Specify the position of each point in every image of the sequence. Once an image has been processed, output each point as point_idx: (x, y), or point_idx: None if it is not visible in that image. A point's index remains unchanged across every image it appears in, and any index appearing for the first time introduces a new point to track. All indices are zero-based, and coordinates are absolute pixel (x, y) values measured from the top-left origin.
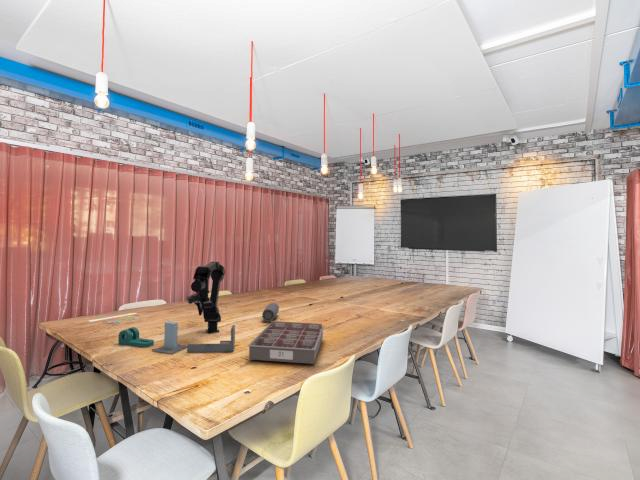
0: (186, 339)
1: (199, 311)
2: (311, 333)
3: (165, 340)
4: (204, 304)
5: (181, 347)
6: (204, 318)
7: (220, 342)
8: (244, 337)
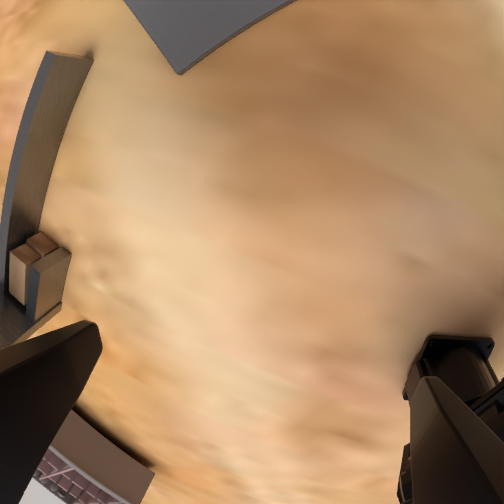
0: (405, 125)
1: (443, 443)
2: (44, 474)
3: None
4: None
5: (170, 22)
6: (82, 329)
7: (34, 263)
8: (202, 429)
